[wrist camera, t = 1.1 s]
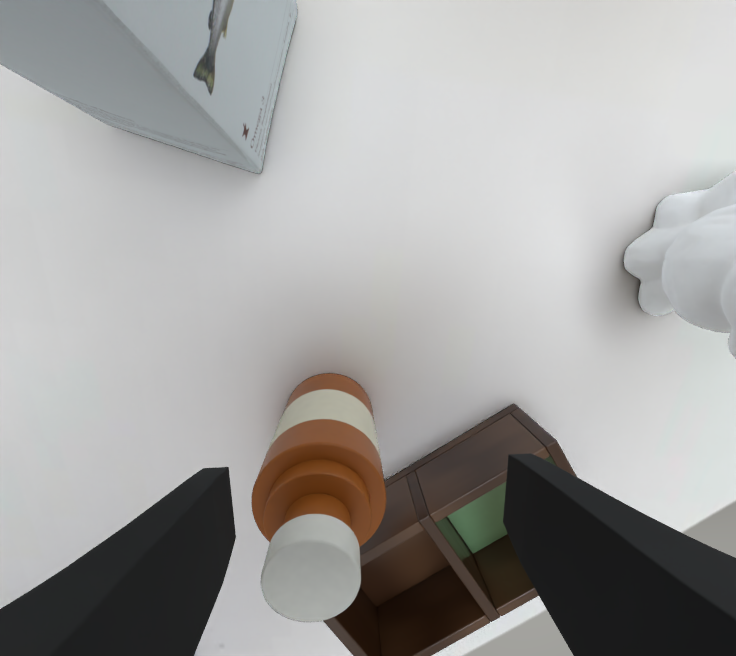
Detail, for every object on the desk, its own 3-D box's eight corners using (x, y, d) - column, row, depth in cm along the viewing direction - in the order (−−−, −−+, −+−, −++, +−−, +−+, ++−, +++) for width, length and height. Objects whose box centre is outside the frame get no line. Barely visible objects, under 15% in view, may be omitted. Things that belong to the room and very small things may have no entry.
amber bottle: (337, 467, 20) (328, 679, 10) (268, 421, 19) (182, 602, 9) (389, 405, 19) (435, 564, 9) (321, 355, 18) (291, 471, 8)
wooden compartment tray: (372, 607, 22) (378, 685, 18) (307, 526, 21) (297, 592, 17) (567, 496, 21) (618, 551, 17) (514, 402, 20) (556, 440, 16)
